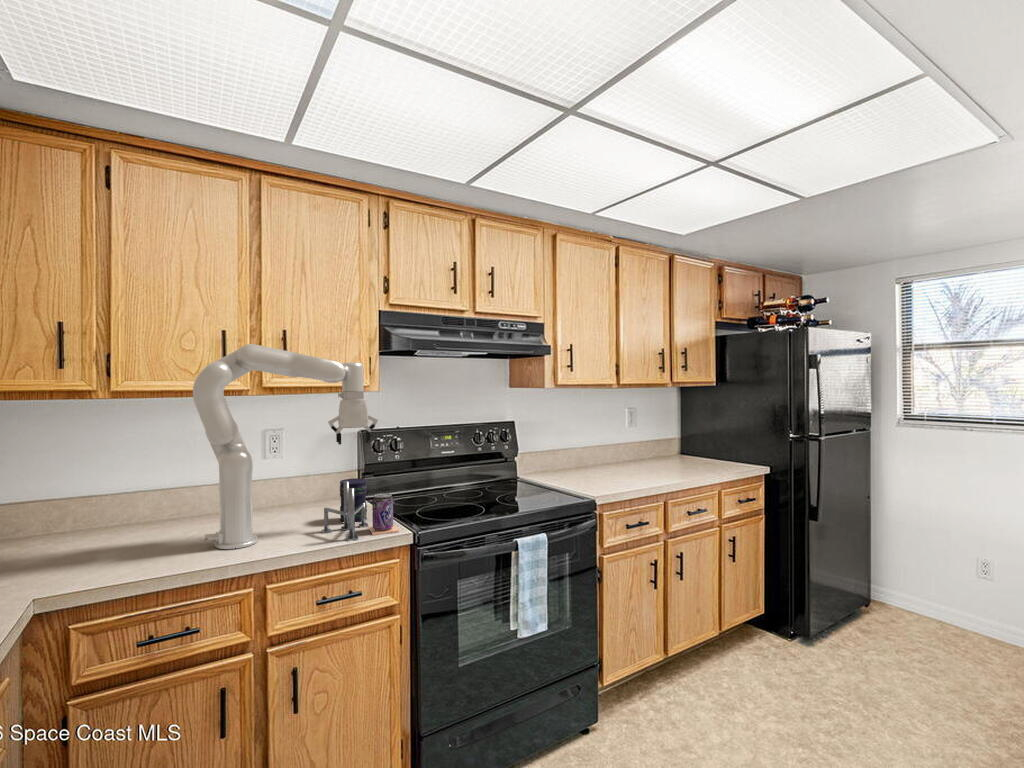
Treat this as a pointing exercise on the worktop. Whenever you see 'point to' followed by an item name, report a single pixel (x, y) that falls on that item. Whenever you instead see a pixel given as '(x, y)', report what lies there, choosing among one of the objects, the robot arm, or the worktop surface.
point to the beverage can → (382, 511)
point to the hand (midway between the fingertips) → (353, 443)
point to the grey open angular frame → (347, 513)
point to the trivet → (376, 532)
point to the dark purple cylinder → (355, 496)
